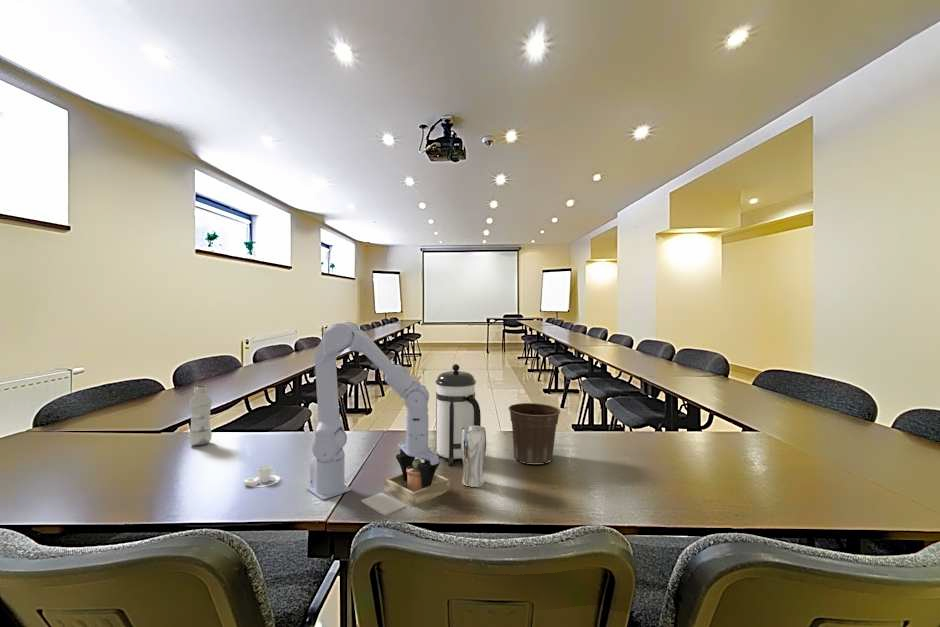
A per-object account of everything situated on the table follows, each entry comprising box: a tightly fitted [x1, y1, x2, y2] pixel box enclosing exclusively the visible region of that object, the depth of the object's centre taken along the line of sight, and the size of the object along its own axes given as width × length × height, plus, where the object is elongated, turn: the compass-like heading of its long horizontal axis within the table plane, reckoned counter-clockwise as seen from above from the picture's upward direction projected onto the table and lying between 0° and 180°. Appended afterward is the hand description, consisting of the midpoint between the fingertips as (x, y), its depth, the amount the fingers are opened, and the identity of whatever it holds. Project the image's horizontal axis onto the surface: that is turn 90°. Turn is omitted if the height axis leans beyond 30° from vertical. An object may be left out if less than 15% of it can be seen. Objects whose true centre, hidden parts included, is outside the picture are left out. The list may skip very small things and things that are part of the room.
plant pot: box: [508, 402, 561, 464], centre depth 133 cm, size 16×16×16 cm
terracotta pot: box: [406, 458, 423, 492], centre depth 109 cm, size 6×6×8 cm
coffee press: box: [432, 363, 482, 466], centre depth 133 cm, size 17×16×30 cm
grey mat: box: [360, 492, 406, 517], centre depth 102 cm, size 10×6×1 cm, turn 46°
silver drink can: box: [461, 425, 487, 487], centre depth 114 cm, size 7×7×15 cm
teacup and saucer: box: [243, 465, 281, 488], centre depth 115 cm, size 9×8×4 cm
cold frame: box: [383, 472, 450, 507], centre depth 109 cm, size 12×12×3 cm
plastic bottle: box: [188, 385, 213, 446], centre depth 144 cm, size 6×7×20 cm
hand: (417, 484), depth 109 cm, fingers open, 7 cm apart
